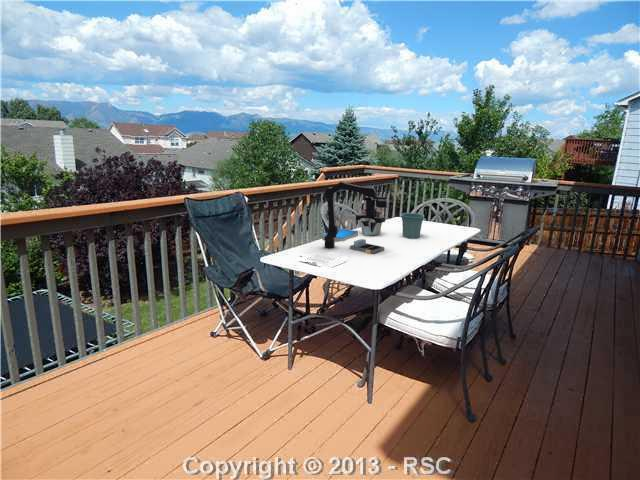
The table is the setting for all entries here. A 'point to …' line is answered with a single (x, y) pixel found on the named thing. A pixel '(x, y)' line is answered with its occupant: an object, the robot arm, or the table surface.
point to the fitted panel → (360, 242)
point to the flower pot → (412, 224)
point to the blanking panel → (369, 230)
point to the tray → (323, 260)
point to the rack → (368, 248)
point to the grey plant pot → (378, 225)
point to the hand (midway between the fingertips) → (369, 232)
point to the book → (343, 235)
